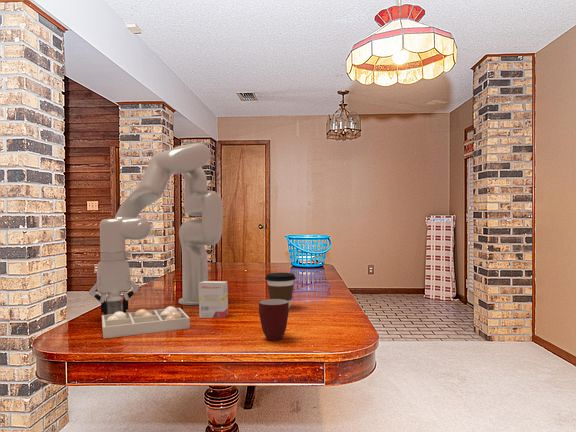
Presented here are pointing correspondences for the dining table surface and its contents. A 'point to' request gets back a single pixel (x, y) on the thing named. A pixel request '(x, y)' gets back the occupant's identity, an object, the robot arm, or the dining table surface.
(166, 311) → the cream egg
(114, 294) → the pill bottle
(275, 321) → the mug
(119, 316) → the cream egg
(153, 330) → the grey compartment tray
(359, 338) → the dining table surface
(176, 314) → the brown egg
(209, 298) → the ink box
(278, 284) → the coffee cup
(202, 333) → the dining table surface
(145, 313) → the brown egg
